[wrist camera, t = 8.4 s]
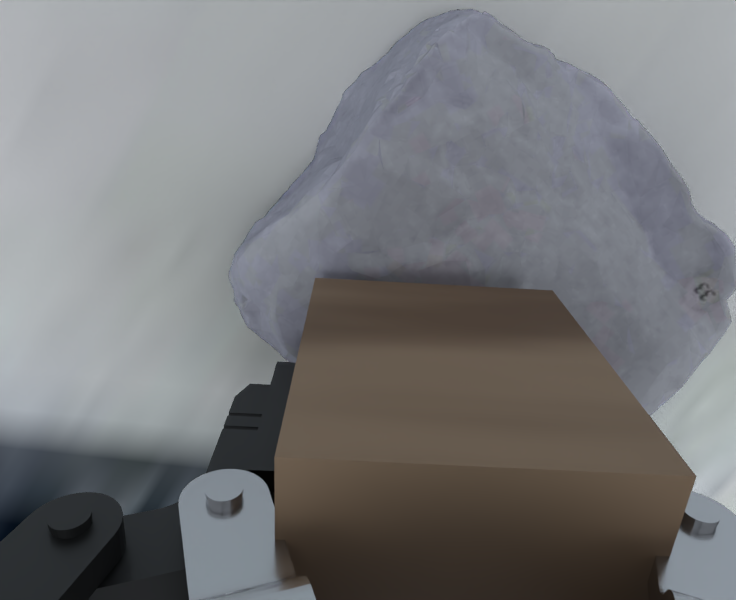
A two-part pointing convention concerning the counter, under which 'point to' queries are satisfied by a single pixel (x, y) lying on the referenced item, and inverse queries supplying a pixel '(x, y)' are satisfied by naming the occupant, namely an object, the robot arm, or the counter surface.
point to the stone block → (497, 203)
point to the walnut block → (467, 451)
